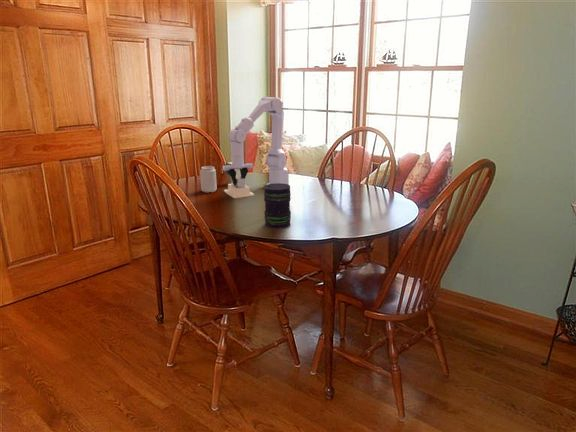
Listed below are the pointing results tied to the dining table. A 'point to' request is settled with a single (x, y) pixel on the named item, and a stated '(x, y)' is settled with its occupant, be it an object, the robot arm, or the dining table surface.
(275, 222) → the storage jar
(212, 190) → the can
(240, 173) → the pneumatic valve
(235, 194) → the hollow block
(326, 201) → the dining table surface
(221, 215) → the dining table surface
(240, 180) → the grey block
